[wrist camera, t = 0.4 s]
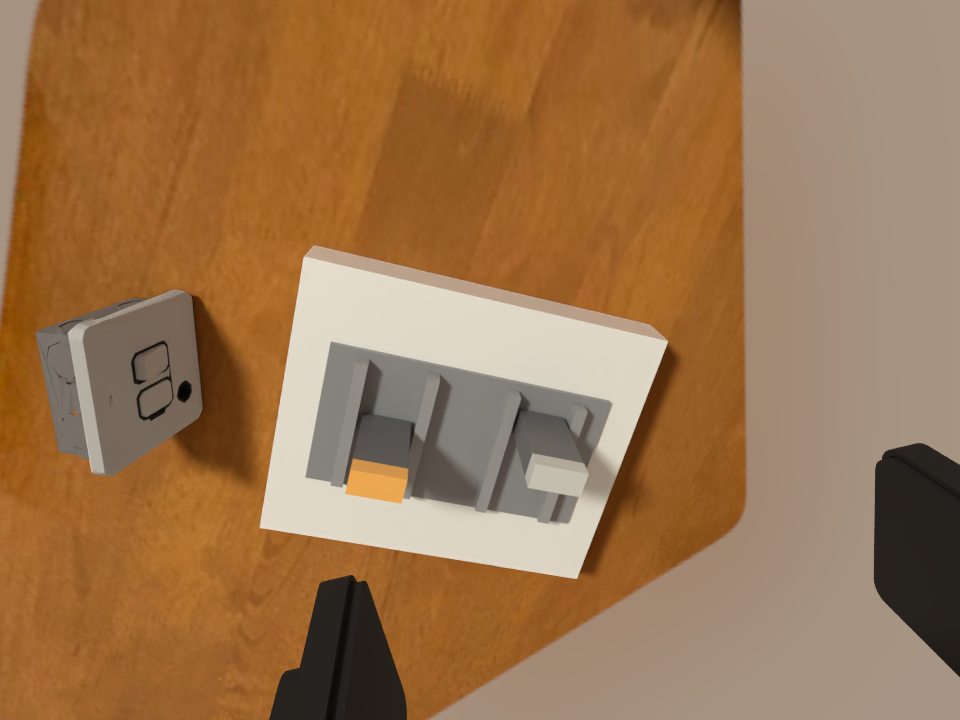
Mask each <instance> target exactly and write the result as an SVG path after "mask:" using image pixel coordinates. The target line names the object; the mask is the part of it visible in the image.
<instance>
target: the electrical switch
mask: <svg viewBox="0 0 960 720" xmlns="http://www.w3.org/2000/svg"><path fill="white" fill-rule="evenodd" d="M38 331H42V332H36V337H37V342H38V347H39V352H40V357H41V362H42V367H43V372H44V377H45V382H46V388H47V393H48V398H49V403H50V408H51V413H52V418H53V423H54V428H55V433H56V439H57V444H58V449H59V452H63V453H68V454H74V455H78V456H80V457H82V458H85V459H89V460H90V466H91V472H92V473H95V474H97V475H108V476H114V475H115V474H117V473H118V472H120V471H121V470H123V469H124V468H126V467H127V466H129V465H130V464H132V463H133V462H134V461H136V460H137V459H139V458H140V457H142V456H143V455H145V454H146V453H148V452H149V451H151V450H152V449H154V448H155V447H157V446H158V445H160V444H161V443H163V442H164V441H166V440H167V439H169V438H170V437H171V436H173V435H174V434H176V433H177V432H179V431H180V430H182V429H183V428H185V427H186V426H188V425H189V424H191V423H192V422H194V421H195V420H197V419H198V418H199V416H200V414H201V411H202V409H203V405H202V395H201V384H200V374H199V364H198V354H197V344H196V334H195V324H194V314H193V304H192V297H191V295H190V294H188V293H187V292H186V291H180V290H169V291H167V292H165V293H163V294H162V295H159V296H156V297H153V298H151V299H143V298H136V297H135V298H132V299H129V300H126V301H123V302H120V303H117V304H114V305H111V306H108V307H105V308H102V309H99V310H96V311H94V312H91V313H88V314H85V315H82V316H79V317H76V318H73V319H70V320H67V321H64V322H61V323H58V324H55V325H52V326H49V327H46V328H43V329H40V330H38ZM44 332H47V333H44ZM51 333H52V334H51ZM55 343H56V344H55ZM47 357H48V360H47ZM61 376H63V377H64V378H62V377H61ZM73 411H76V412H78V413H79V414H81V415H78V414H71V412H73ZM62 420H63V421H62ZM62 434H63V436H64V437H65V438H64V437H63V436H62Z"/></svg>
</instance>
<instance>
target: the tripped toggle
mask: <svg viewBox="0 0 960 720" xmlns="http://www.w3.org/2000/svg"><path fill="white" fill-rule="evenodd" d="M410 430H411V421H406V420H401V419H396V418H391V417H385V416H380V415H375V414H370V413H365V412H363V415H362V420H361V424H360V429H359V433H358V438H357V442H356V447H355V451H354V456H353V460H352V465H351V469H350V474H349V479H348V483H347V488H346V493H345V494H348V495H354V496H360V497H365V498H371V499H377V500H383V501H388V502H394V503H400V504H402V500H403V496H404V492H405V488H406V484H407V480H408V464H409V447H410Z"/></svg>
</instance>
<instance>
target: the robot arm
mask: <svg viewBox="0 0 960 720" xmlns="http://www.w3.org/2000/svg"><path fill="white" fill-rule="evenodd" d="M874 583H875V587H876V589H877V592H878V594H879V595H880V597H881V598H882V600H883V601H884V602H885V603H886V604H887V605H888V606H889V607H890V608H891V609H892V610H893V611H894V612H895V613H896V614H897V615H898V616H899V617H900V618H901V619H902V620H903V621H904V622H905V623H906V624H907V625H908V626H909V627H910V628H911V629H912V630H913V631H914V632H915V633H916V634H917V635H918V636H919V637H920V638H921V639H922V640H923V641H924V642H925V643H926V644H927V645H928V646H929V647H930V648H931V649H932V650H933V651H934V652H935V653H936V654H937V655H938V656H939V657H940V658H941V659H942V660H943V661H944V662H945V663H946V664H947V665H948V666H949V667H950V668H951V669H952V670H953V671H954V672H955V673H956V674H957V675H958V676H959V677H960V465H959V464H957V463H956V462H954V461H952V460H950V459H949V458H947V457H946V456H944V455H942V454H941V453H939V452H937V451H936V450H934V449H932V448H931V447H929V446H927V445H925V444H922V443H916V444H912V445H908V446H904V447H899V448H895V449H891V450H888V451H886V452H885V453H884V455H883V456H882V460H880V461H879V462H878V463H877V464H876V469H875V530H874ZM269 720H407V708H406V699H405V694H404V690H403V687H402V684H401V681H400V678H399V675H398V672H397V669H396V667H395V664H394V661H393V658H392V655H391V652H390V649H389V646H388V643H387V640H386V637H385V634H384V631H383V628H382V625H381V622H380V619H379V616H378V613H377V610H376V607H375V604H374V601H373V598H372V595H371V593H370V590H369V587H368V584H367V582H366V581H361V582H357V581H356V579H355V578H354V576H353V575H349V576H345V577H341V578H336V579H332V580H328V581H323V582H321V583H320V585H319V588H318V592H317V596H316V600H315V605H314V609H313V613H312V618H311V622H310V626H309V630H308V635H307V639H306V643H305V648H304V652H303V656H302V660H301V665H300V668H297V669H293V670H289V671H286V672H285V673H284V674H283V675H282V677H281V679H280V682H279V685H278V689H277V692H276V696H275V700H274V704H273V707H272V711H271V715H270V719H269Z"/></svg>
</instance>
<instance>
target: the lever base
mask: <svg viewBox="0 0 960 720" xmlns="http://www.w3.org/2000/svg"><path fill="white" fill-rule="evenodd" d="M667 343H668V341H667V340H666V339H665V338H664V337H663V336H662V335H661V334H660V333H659V332H658V331H657V330H656V329H655V328H653V327H652V326H651V325H650V324H646V323H642V322H637V321H633V320H629V319H625V318H620V317H616V316H612V315H608V314H603V313H599V312H595V311H591V310H587V309H582V308H578V307H574V306H570V305H565V304H561V303H557V302H553V301H548V300H544V299H540V298H536V297H532V296H527V295H523V294H519V293H515V292H510V291H506V290H502V289H498V288H494V287H489V286H485V285H481V284H477V283H472V282H468V281H464V280H460V279H455V278H451V277H447V276H443V275H439V274H434V273H430V272H426V271H422V270H417V269H413V268H409V267H405V266H401V265H396V264H392V263H388V262H384V261H379V260H375V259H371V258H367V257H362V256H358V255H354V254H350V253H346V252H341V251H337V250H333V249H329V248H324V247H320V246H316V245H314V246H313V247H312V248H311V249H310V250H309V251H308V253H307V254H306V255H305V256H304V259H303V265H302V271H301V278H300V284H299V290H298V296H297V302H296V308H295V314H294V320H293V327H292V333H291V339H290V345H289V351H288V357H287V363H286V369H285V376H284V382H283V388H282V394H281V400H280V406H279V412H278V418H277V425H276V431H275V437H274V443H273V449H272V455H271V461H270V467H269V474H268V480H267V486H266V492H265V498H264V504H263V510H262V516H261V523H260V528H265V529H271V530H277V531H283V532H289V533H296V534H302V535H308V536H314V537H320V538H327V539H333V540H339V541H345V542H351V543H357V544H364V545H370V546H376V547H382V548H388V549H395V550H401V551H407V552H413V553H419V554H425V555H432V556H438V557H444V558H450V559H456V560H463V561H469V562H475V563H481V564H487V565H494V566H500V567H506V568H512V569H518V570H524V571H531V572H537V573H543V574H549V575H555V576H562V577H568V578H574V579H577V577H578V575H579V572H580V570H581V567H582V564H583V562H584V559H585V557H586V554H587V551H588V549H589V546H590V544H591V541H592V538H593V536H594V533H595V531H596V528H597V525H598V523H599V520H600V518H601V515H602V512H603V510H604V507H605V505H606V502H607V499H608V497H609V494H610V492H611V489H612V486H613V484H614V481H615V479H616V476H617V473H618V471H619V468H620V466H621V463H622V460H623V458H624V455H625V453H626V450H627V447H628V445H629V442H630V440H631V437H632V434H633V432H634V429H635V427H636V424H637V421H638V419H639V416H640V414H641V411H642V408H643V406H644V403H645V401H646V398H647V395H648V393H649V390H650V388H651V385H652V382H653V380H654V377H655V375H656V372H657V369H658V367H659V364H660V362H661V359H662V356H663V354H664V351H665V349H666V346H667ZM363 412H365V413H370V414H375V415H380V416H385V417H391V418H396V419H401V420H406V421H411V430H410V447H409V464H408V480H407V484H406V488H405V492H404V496H403V500H402V504H400V503H394V502H388V501H383V500H377V499H371V498H365V497H360V496H354V495H348V494H345V493H346V488H347V483H348V479H349V474H350V469H351V465H352V460H353V456H354V451H355V447H356V442H357V438H358V433H359V429H360V424H361V420H362V415H363Z"/></svg>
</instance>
